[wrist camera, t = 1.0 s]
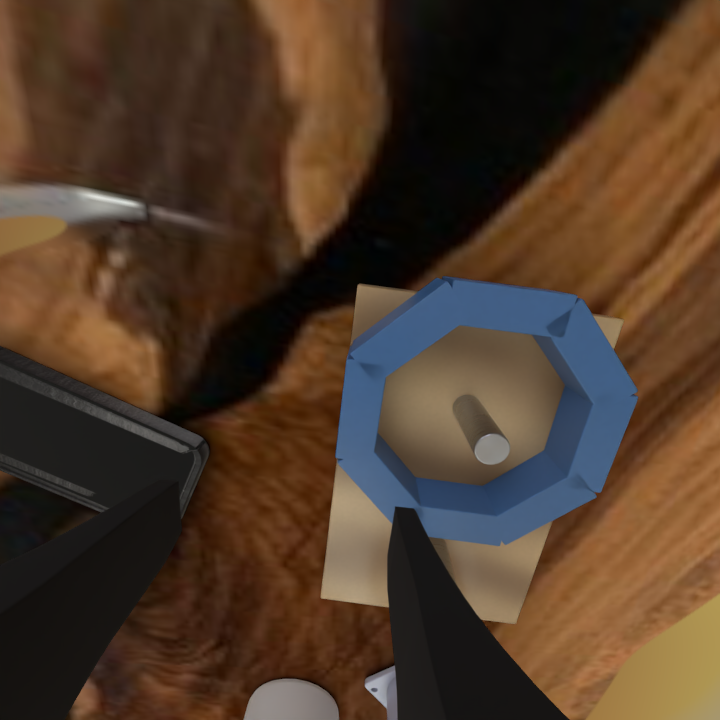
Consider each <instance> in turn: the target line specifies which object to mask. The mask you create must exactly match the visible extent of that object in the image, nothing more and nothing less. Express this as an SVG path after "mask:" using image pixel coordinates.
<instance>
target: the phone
mask: <svg viewBox="0 0 720 720" xmlns="http://www.w3.org/2000/svg"><path fill="white" fill-rule="evenodd" d="M209 452H210V451H209V446H208V444H207V442H206V441H205V440H204V439H203V438H202V437H200V436H199V435H197V434H195V433H192V432H190V431H188V430H186V429H183V428H181V427H179V426H177V425H175V424H172V423H170V422H168V421H166V420H163V419H161V418H159V417H157V416H155V415H152V414H150V413H148V412H146V411H143V410H141V409H139V408H137V407H135V406H132V405H130V404H128V403H126V402H123V401H121V400H119V399H117V398H115V397H112V396H110V395H108V394H106V393H103V392H101V391H99V390H97V389H94V388H92V387H90V386H88V385H86V384H83V383H81V382H79V381H77V380H74V379H72V378H70V377H68V376H66V375H63V374H61V373H59V372H57V371H54V370H52V369H50V368H48V367H46V366H43V365H41V364H39V363H37V362H34V361H32V360H30V359H28V358H26V357H23V356H21V355H19V354H17V353H14V352H12V351H10V350H8V349H5V348H3V347H1V346H0V470H1V471H3V472H5V473H8V474H10V475H13V476H15V477H17V478H20V479H22V480H25V481H27V482H30V483H32V484H34V485H37V486H39V487H42V488H44V489H46V490H49V491H51V492H54V493H56V494H58V495H61V496H63V497H66V498H68V499H71V500H73V501H75V502H78V503H80V504H83V505H85V506H87V507H90V508H92V509H95V510H97V511H99V512H104V511H105V510H107V509H109V508H111V507H112V506H114V505H116V504H118V503H119V502H121V501H123V500H124V499H126V498H128V497H130V496H131V495H133V494H135V493H136V492H138V491H140V490H142V489H143V488H145V487H147V486H148V485H150V484H152V483H154V482H156V481H158V480H160V479H165V480H174V481H179V494H180V511H181V519H182V517H183V516H184V513H185V511H186V509H187V506H188V504H189V502H190V499H191V497H192V494H193V492H194V490H195V487H196V485H197V483H198V480H199V478H200V476H201V473H202V471H203V469H204V466H205V464H206V461H207V459H208V457H209Z"/></svg>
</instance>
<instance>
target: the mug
mask: <svg viewBox="0 0 720 720" xmlns="http://www.w3.org/2000/svg"><path fill="white" fill-rule="evenodd" d="M244 720H339V712H338V707H337V705H336V702H335V700H334V699H333V697H332V696H331V695H330V694H329V693H328V692H327V691H325V690H324V689H322V688H321V687H319V686H318V685H315V684H313V683H310V682H308V681H303V680H299V679H278V680H273V681H270V682H268V683H265V684H263V685H262V686H260V687H259V688H258V689H256V691H255V692H254V693H253V695H252V696H251V698H250V699H249V703H248V706H247V710H246V713H245V717H244Z"/></svg>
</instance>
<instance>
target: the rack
mask: <svg viewBox="0 0 720 720" xmlns="http://www.w3.org/2000/svg"><path fill="white" fill-rule="evenodd" d="M417 292H418V291H413V290H406V289H398V288H390V287H383V286H375V285H367V284H359V285H358V286H357V294H356V302H355V311H354V319H353V327H352V336H351V344H350V346H352V344H353V340H355V339H356V338H357V337H359V336H360V335H361V334H363V333H364V332H365V331H367V330H368V329H369V328H371V327H372V326H373V325H375V324H376V323H377V322H379V321H380V320H381V319H383V318H384V317H385V316H387V315H388V314H389V313H391V312H392V311H393V310H394V309H396V308H397V307H398V306H400V305H401V304H402V303H404V302H405V301H406V300H408V299H409V298H410V297H412V296H413V295H414V294H416V293H417ZM592 315H593V317H594V318H595V320H596V322H597V323H598V325H599V327H600V328H601V330H602V332H603V333H604V335H605V337H606V338H607V340H608V342H609V343H610V345H611V347H612V348H613V350H614V347H615V345H616V342H617V339H618V336H619V333H620V331H621V328H622V325H623V322H624V320H623V319H620V318H616V317H612V316H607V315H599V314H592ZM564 387H565V384H564V383H563V381H562V380H561V378H560V377H559V375H558V374H557V372H556V371H555V369H554V368H553V366H552V365H551V363H550V362H549V360H548V359H547V357H546V356H545V354H544V352H543V351H542V349H541V348H540V346H539V345H538V343H537V342H536V340H535V339H534V337H533V336H532V335H530V334H522V333H514V332H507V331H499V330H491V329H483V328H476V327H468V326H460V325H459V326H458V327H456V328H455V329H453V330H452V331H451V332H449V333H448V334H446V335H445V336H443V337H442V338H441V339H439V340H438V341H436V342H435V343H434V344H432V345H431V346H429V347H428V348H427V349H425V350H424V351H422V352H421V353H419V354H418V355H417V356H415V357H414V358H412V359H411V360H410V361H408V362H407V363H405V364H404V365H402V366H401V367H400V368H398V369H397V370H395V371H394V372H393V373H391V374H390V375H388V376H387V377H386V381H385V388H384V394H383V401H382V407H381V414H380V420H379V427H378V433H379V435H380V436H381V437H382V438H383V439H384V440H385V442H386V443H387V444H388V445H389V446H390V448H391V449H392V450H393V451H394V452H395V454H396V455H397V456H398V457H399V458H400V460H401V461H402V462H403V463H404V464H405V465H406V467H407V468H408V469H409V470H410V471H411V473H412V474H413V475H414V476H415V477H418V478H426V479H433V480H441V481H449V482H456V483H464V484H471V485H479V486H483V485H485V484H487V483H488V482H490V481H492V480H494V479H495V478H497V477H499V476H501V475H502V474H504V473H506V472H507V471H509V470H511V469H513V468H514V467H516V466H518V465H519V464H521V463H523V462H525V461H526V460H528V459H530V458H532V457H533V456H535V455H537V454H538V453H540V452H542V451H544V449H545V445H546V442H547V439H548V436H549V433H550V430H551V427H552V424H553V421H554V418H555V414H556V411H557V408H558V405H559V402H560V399H561V396H562V393H563V390H564ZM337 461H338V458H337ZM551 524H552V521H551V522H549V523H547V524H545V525H543V526H541V527H539V528H538V529H536V530H534V531H532V532H530V533H528V534H526V535H524V536H522V537H521V538H519V539H517V540H515V541H513V542H511V543H509V544H507V545H505V544H504V543H503V542H501V545H500V546H494V545H486V544H479V543H471V542H463V541H456V540H448V539H441V538H433V537H429V539H430V541H431V542H432V544H433V546H434V548H435V550H436V552H437V553H438V555H439V557H440V558H441V560H442V562H443V564H444V565H445V567H446V569H447V570H448V572H449V574H450V575H451V577H452V578H453V580H454V582H455V583H456V585H457V586H458V588H459V589H460V591H461V592H462V594H463V595H464V597H465V598H466V600H467V601H468V603H469V604H470V605H471V607H472V608H473V610H474V611H475V612H476V614H477V615H478V616H479V618H480V619H481V620H488V621H495V622H503V623H510V624H516V622H517V619H518V616H519V614H520V611H521V608H522V605H523V602H524V600H525V597H526V594H527V591H528V588H529V586H530V583H531V580H532V577H533V574H534V572H535V569H536V566H537V563H538V560H539V558H540V555H541V552H542V549H543V546H544V544H545V541H546V538H547V535H548V532H549V530H550V527H551ZM391 529H392V523H391V522H390V521H389V520H388V519H387V518H386V517H385V516H384V514H383V513H382V512H381V511H380V510H379V509H378V508H377V507H376V506H375V504H374V503H373V502H372V501H371V500H370V499H369V498H368V497H367V496H366V494H365V493H364V492H363V491H362V490H361V489H360V488H359V487H358V486H357V484H356V483H355V482H354V481H353V480H352V479H351V478H350V477H349V476H348V474H347V473H346V472H345V471H344V470H343V469H342V468H341V467H340V466H339V464H338V463H337V462H336V471H335V479H334V488H333V496H332V504H331V513H330V521H329V530H328V538H327V547H326V555H325V563H324V572H323V580H322V589H321V598H322V599H329V600H337V601H345V602H352V603H360V604H367V605H375V606H382V607H389V602H388V592H387V554H388V548H389V541H390V535H391Z"/></svg>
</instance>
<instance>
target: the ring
mask: <svg viewBox="0 0 720 720" xmlns="http://www.w3.org/2000/svg"><path fill="white" fill-rule="evenodd" d="M459 325H460V326H468V327H476V328H483V329H491V330H499V331H507V332H514V333H522V334H530V335H532V336H533V337H534V339H535V340H536V342H537V343H538V345H539V346H540V348H541V349H542V351H543V352H544V354H545V356H546V357H547V359H548V360H549V362H550V363H551V365H552V366H553V368H554V369H555V371H556V372H557V374H558V375H559V377H560V378H561V380H562V381H563V383H564V384H565V387H564V390H563V393H562V396H561V399H560V402H559V405H558V408H557V411H556V414H555V418H554V421H553V424H552V427H551V430H550V433H549V436H548V439H547V442H546V445H545V449H544V451H542V452H540V453H538V454H537V455H535V456H533V457H532V458H530V459H528V460H526V461H525V462H523V463H521V464H519V465H518V466H516V467H514V468H513V469H511V470H509V471H507V472H506V473H504V474H502V475H501V476H499V477H497V478H495V479H494V480H492V481H490V482H488V483H487V484H485V485H483V486H479V485H471V484H464V483H456V482H449V481H441V480H433V479H426V478H418V477H415V476H414V475H413V474H412V473H411V471H410V470H409V469H408V468H407V467H406V465H405V464H404V463H403V462H402V461H401V460H400V458H399V457H398V456H397V455H396V454H395V452H394V451H393V450H392V449H391V448H390V446H389V445H388V444H387V443H386V442H385V440H384V439H383V438H382V437H381V436H380V435H379V433H378V427H379V420H380V414H381V407H382V401H383V394H384V388H385V381H386V377H387V376H388V375H390V374H391V373H393V372H394V371H395V370H397V369H398V368H400V367H401V366H402V365H404V364H405V363H407V362H408V361H410V360H411V359H412V358H414V357H415V356H417V355H418V354H419V353H421V352H422V351H424V350H425V349H427V348H428V347H429V346H431V345H432V344H434V343H435V342H436V341H438V340H439V339H441V338H442V337H443V336H445V335H446V334H448V333H449V332H451V331H452V330H453V329H455V328H456V327H458V326H459ZM637 391H638V390H637V388H636V386H635V385H634V383H633V381H632V380H631V378H630V376H629V375H628V373H627V371H626V370H625V368H624V366H623V365H622V363H621V361H620V360H619V358H618V357H617V355H616V353H615V352H614V350H613V348H612V347H611V345H610V343H609V342H608V340H607V338H606V337H605V335H604V333H603V332H602V330H601V328H600V327H599V325H598V323H597V322H596V320H595V318H594V317H593V315H592V313H591V312H590V310H589V308H588V307H587V305H586V303H585V302H584V300H583V299H580V298H577V295H575V294H569V293H564V292H559V291H554V290H548V289H541V288H533V287H525V286H517V285H510V284H502V283H494V282H486V281H479V280H471V279H463V278H455V277H448V276H443V277H442V279H439V278H436V279H434V280H433V281H432V282H430V283H429V284H428V285H426V286H425V287H424V288H422V289H421V290H420V291H418V292H417V293H416V294H414V295H413V296H412V297H410V298H409V299H408V300H406V301H405V302H404V303H402V304H401V305H400V306H398V307H397V308H396V309H394V310H393V311H392V312H391V313H389V314H388V315H387V316H385V317H384V318H383V319H381V320H380V321H379V322H377V323H376V324H375V325H373V326H372V327H371V328H369V329H368V330H367V331H365V332H364V333H363V334H361V335H360V336H359V337H357V338H356V339H355V340H353V344H352V346H350V349H349V352H348V356H347V360H346V368H345V377H344V385H343V394H342V403H341V411H340V420H339V428H338V437H337V445H336V454H335V457H336V458H338V461H337V463H338V464H339V466H340V467H341V468H342V469H343V470H344V471H345V472H346V473H347V474H348V476H349V477H350V478H351V479H352V480H353V481H354V482H355V483H356V484H357V486H358V487H359V488H360V489H361V490H362V491H363V492H364V493H365V494H366V496H367V497H368V498H369V499H370V500H371V501H372V502H373V503H374V504H375V506H376V507H377V508H378V509H379V510H380V511H381V512H382V513H383V514H384V516H385V517H386V518H387V519H388V520H389V521H390V522H391V523H393V517H394V511H395V506H397V507H406V508H414V509H415V511H416V512H417V514H418V516H419V519H420V521H421V523H422V525H423V527H424V529H425V531H426V533H427V535H428V537H433V538H441V539H448V540H456V541H463V542H471V543H479V544H486V545H494V546H500V545H501V542H503V543H504V544H505V545H507V544H509V543H511V542H513V541H515V540H517V539H519V538H521V537H522V536H524V535H526V534H528V533H530V532H532V531H534V530H536V529H538V528H539V527H541V526H543V525H545V524H547V523H549V522H551V521H553V520H555V519H556V518H558V517H560V516H562V515H564V514H566V513H568V512H570V511H572V510H573V509H575V508H577V507H579V506H581V505H583V504H585V503H587V502H589V501H590V500H592V499H594V498H596V497H597V496H596V494H595V493H594V492H599V493H600V492H601V491H602V488H603V486H604V483H605V481H606V478H607V476H608V473H609V471H610V468H611V466H612V463H613V460H614V458H615V455H616V453H617V450H618V448H619V445H620V443H621V440H622V438H623V435H624V433H625V430H626V428H627V425H628V423H629V420H630V418H631V415H632V413H633V410H634V407H635V405H636V402H637V400H638V396H636V395H634V393H636V392H637Z"/></svg>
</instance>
